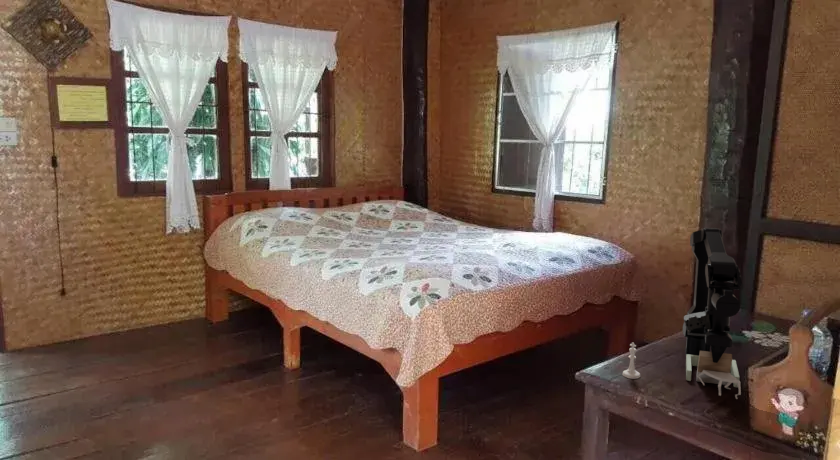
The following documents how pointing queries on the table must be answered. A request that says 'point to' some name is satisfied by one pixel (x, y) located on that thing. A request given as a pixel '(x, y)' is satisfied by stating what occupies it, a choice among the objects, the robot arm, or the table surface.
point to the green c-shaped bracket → (693, 361)
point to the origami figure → (721, 379)
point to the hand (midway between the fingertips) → (714, 360)
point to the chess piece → (631, 365)
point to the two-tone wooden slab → (713, 366)
